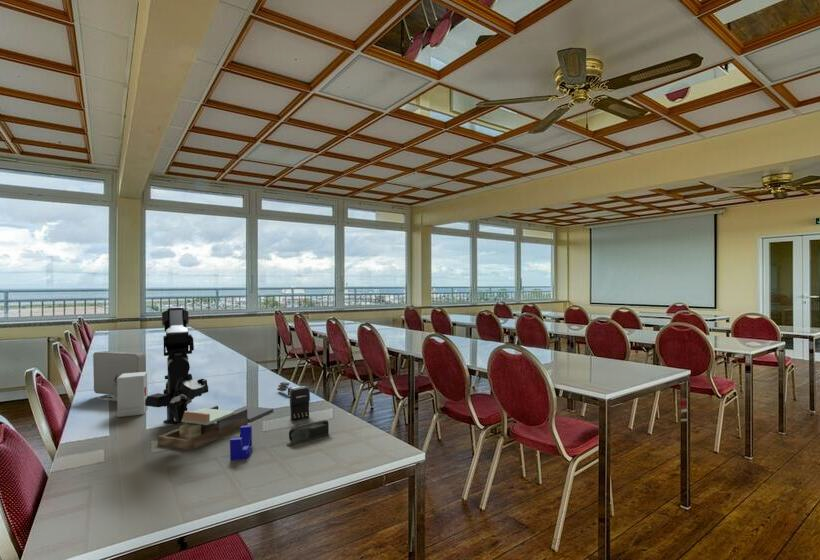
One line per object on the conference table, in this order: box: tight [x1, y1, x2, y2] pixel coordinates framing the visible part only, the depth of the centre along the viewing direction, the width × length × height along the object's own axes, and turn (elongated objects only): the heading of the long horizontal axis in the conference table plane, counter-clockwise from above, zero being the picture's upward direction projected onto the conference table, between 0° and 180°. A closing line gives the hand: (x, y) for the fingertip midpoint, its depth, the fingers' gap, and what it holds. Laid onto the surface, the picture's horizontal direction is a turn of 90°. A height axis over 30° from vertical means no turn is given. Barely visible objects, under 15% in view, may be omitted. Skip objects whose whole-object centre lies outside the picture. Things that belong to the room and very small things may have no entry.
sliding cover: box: [174, 407, 235, 425], centre depth 148 cm, size 14×12×3 cm
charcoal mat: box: [233, 405, 274, 422], centre depth 168 cm, size 13×13×1 cm
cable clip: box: [229, 424, 253, 461], centre depth 132 cm, size 12×4×6 cm, turn 6°
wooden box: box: [157, 405, 248, 451], centre depth 148 cm, size 14×24×6 cm, turn 159°
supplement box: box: [116, 371, 149, 418], centre depth 173 cm, size 9×9×15 cm
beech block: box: [178, 422, 201, 440], centre depth 142 cm, size 4×4×5 cm
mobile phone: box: [286, 419, 330, 447], centre depth 142 cm, size 5×3×15 cm
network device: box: [92, 350, 147, 402], centre depth 196 cm, size 26×9×20 cm, turn 73°
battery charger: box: [289, 386, 311, 421], centre depth 162 cm, size 7×4×11 cm, turn 118°
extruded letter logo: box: [276, 381, 293, 396], centre depth 193 cm, size 25×2×6 cm, turn 43°
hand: (179, 421), depth 138 cm, fingers closed
